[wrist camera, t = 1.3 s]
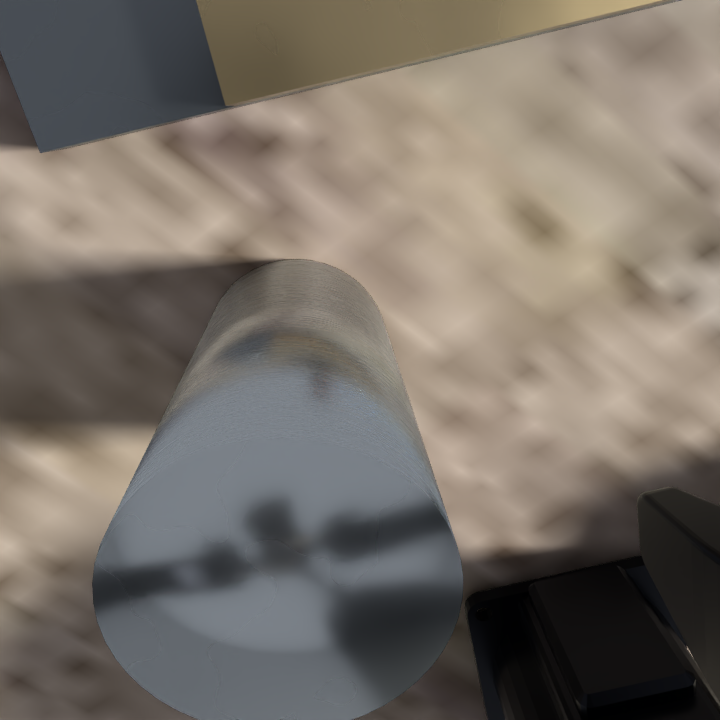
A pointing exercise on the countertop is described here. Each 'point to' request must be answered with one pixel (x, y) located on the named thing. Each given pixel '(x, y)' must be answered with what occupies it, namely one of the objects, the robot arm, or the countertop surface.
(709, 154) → the countertop surface
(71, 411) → the countertop surface
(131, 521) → the pin
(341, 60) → the upper end link
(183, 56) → the lower end link
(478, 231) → the countertop surface
